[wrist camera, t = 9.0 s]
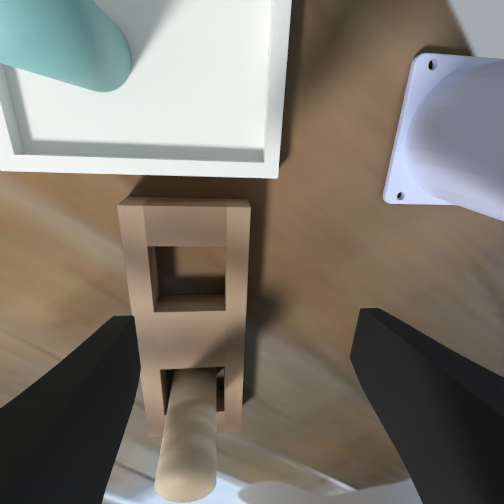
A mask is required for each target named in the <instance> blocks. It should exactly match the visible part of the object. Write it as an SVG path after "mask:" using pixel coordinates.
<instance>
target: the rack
mask: <svg viewBox="0 0 504 504" xmlns="http://www.w3.org/2000/svg"><path fill="white" fill-rule="evenodd" d="M117 209H118V216H119V224H120V231H121V238H122V245H123V253H124V260H125V267H126V274H127V282H128V289H129V296H130V304H131V311H132V316H134V317H135V325H136V332H137V340H138V348H139V355H140V363H141V372H140V376H141V384H142V391H143V398H144V406H145V413H146V420H147V427H148V435H149V437H163V433H164V427H165V422H166V416H167V410H168V404H169V398H170V393H168V383H167V372H166V369H182V368H204V367H224V390H216V433H220V432H234V431H241V417H242V394H243V372H244V349H245V326H246V304H247V281H248V258H249V236H250V213H251V207H250V204H249V202H248V199H229V198H177V197H126V198H125V199H124V200H123V201H122V202H120V203H119V204H118V205H117ZM155 246H225V294H202V295H159V284H158V273H157V262H156V251H155Z"/></svg>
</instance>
